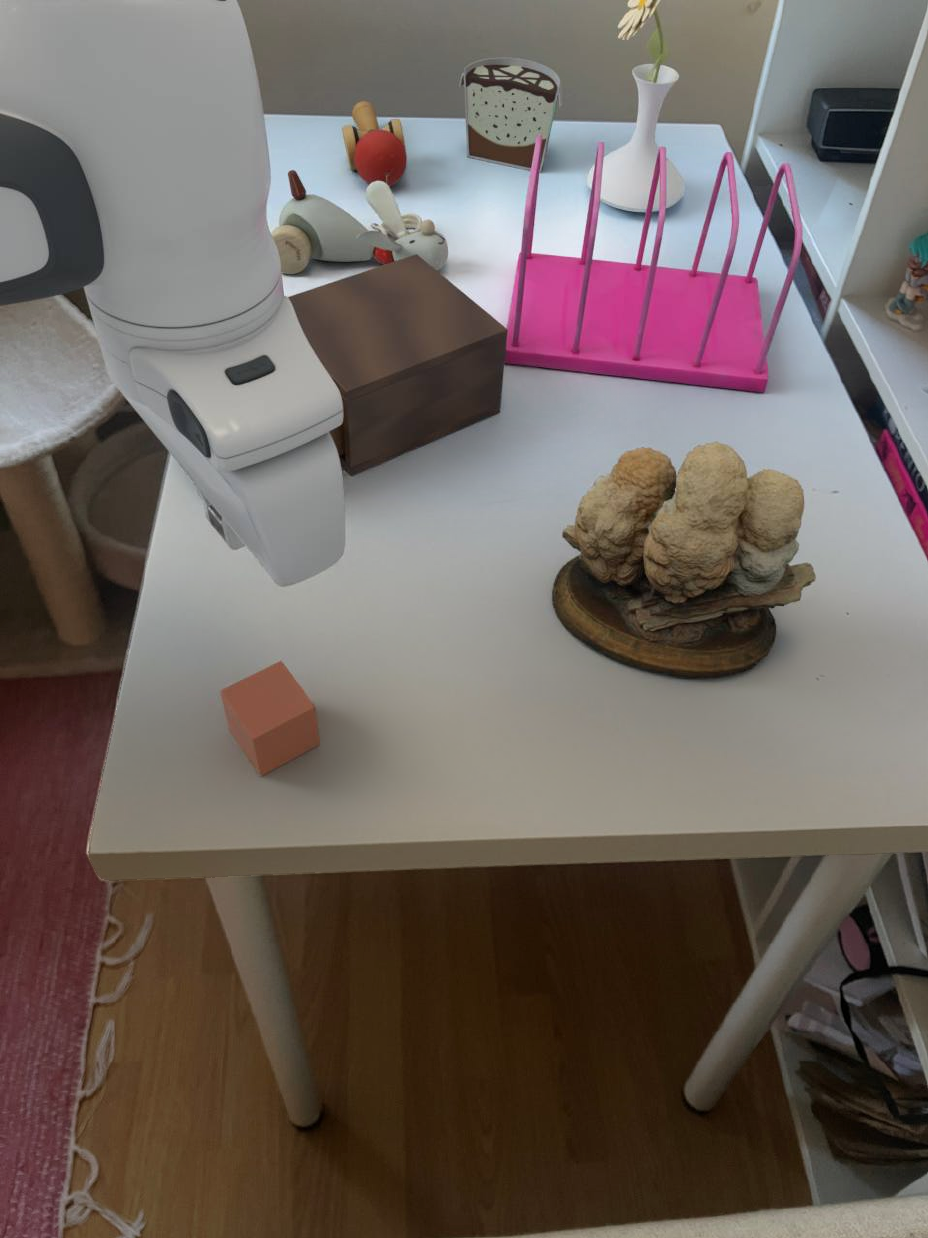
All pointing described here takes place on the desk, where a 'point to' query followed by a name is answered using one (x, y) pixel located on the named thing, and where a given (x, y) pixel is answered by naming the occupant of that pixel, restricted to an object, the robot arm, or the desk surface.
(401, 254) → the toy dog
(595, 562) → the owl figurine
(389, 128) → the kendama
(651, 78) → the flower in vase
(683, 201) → the desk surface
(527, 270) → the file sorter
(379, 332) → the cabinet
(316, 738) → the block
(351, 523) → the desk surface
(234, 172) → the robot arm
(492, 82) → the food container
